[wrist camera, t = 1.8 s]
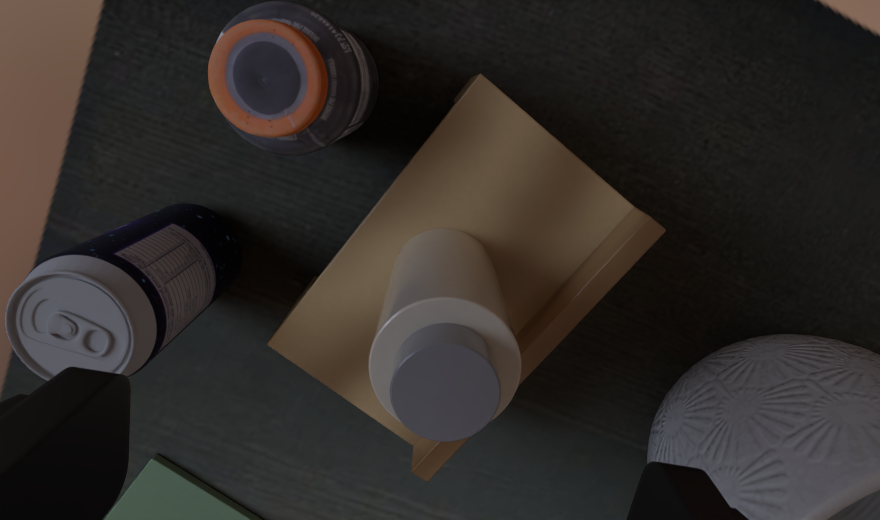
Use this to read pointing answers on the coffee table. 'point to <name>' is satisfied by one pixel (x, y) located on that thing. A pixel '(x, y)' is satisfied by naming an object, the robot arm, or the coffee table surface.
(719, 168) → the coffee table surface
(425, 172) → the stepped wooden block
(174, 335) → the beverage can
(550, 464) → the coffee table surface
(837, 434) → the planter
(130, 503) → the mat
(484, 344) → the spice bottle
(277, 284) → the coffee table surface
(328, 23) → the pill bottle
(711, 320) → the coffee table surface
